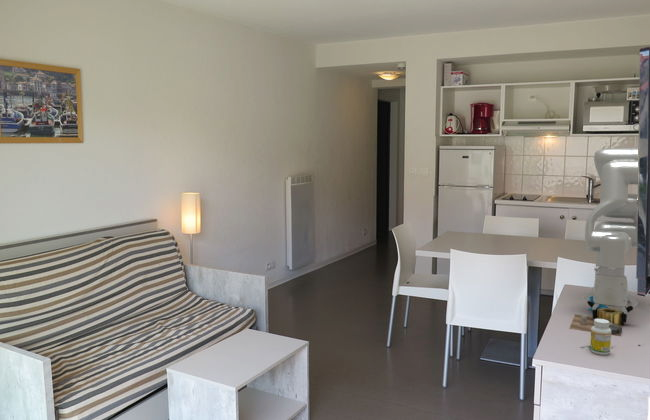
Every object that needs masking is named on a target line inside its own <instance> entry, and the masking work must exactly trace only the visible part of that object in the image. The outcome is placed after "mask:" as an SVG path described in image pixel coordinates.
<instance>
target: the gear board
mask: <svg viewBox="0 0 650 420" xmlns="http://www.w3.org/2000/svg"><path fill="white" fill-rule="evenodd" d="M594 319H595V318H593V316H589V315H588V314H586V313H581V314H574V315H573V318H572V321H571V323H570V326H569V328H568V329H569V330H575V331H582V332H590V333H591V328H592V327H593V326H595V325H594ZM609 328H610V329H611V336H616V337H622V333H623V325H617V324H612V323H610V322H609Z"/></svg>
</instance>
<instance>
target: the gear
mask: <svg viewBox="0 0 650 420" xmlns="http://www.w3.org/2000/svg"><path fill="white" fill-rule="evenodd" d="M589 299H590V300H591V301H592V302H593V303H594V301H593V296H592V297H590V298H589ZM598 308H610V307H609V306H607V305H600V304H599V306H598V307H597V309H598ZM588 310H589V311H593V309H592V308H591V307H590V308H589V309H588Z"/></svg>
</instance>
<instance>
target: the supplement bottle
mask: <svg viewBox="0 0 650 420" xmlns="http://www.w3.org/2000/svg"><path fill="white" fill-rule="evenodd" d="M594 325H595V326H593V327H592V328H591V332H590V346H589V347H590V348H589V349H590V352H592V353H593V354H596V355H601V356H605V355H606V356H607V355H610V354H611V349H612V347H611V345H612V335H611V329H610V328H609V321H608V320H605V319H594Z"/></svg>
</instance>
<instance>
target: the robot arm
mask: <svg viewBox="0 0 650 420" xmlns="http://www.w3.org/2000/svg"><path fill="white" fill-rule="evenodd" d="M638 148H639V147H610V148H608V147H607V148H600V149H598V150H596V151H595V152H594V155H593V160H594V161H593V162H594V166H595V170H596V172H597V175H598V178H599V180H600V194H599V195H600V196H599V203H598V205H596V206H595V207H594V208H593V209H592V210H591V212H590V213H589V214H588V217H587V218H586V221H585V229H584V230H585V231H584V232H585V233H584V245H585V248H586V249H587V250H588V251H590V252H595V266H594V285H593V286H592V287H591V288H592V291H590V292H589V293H586V294H585V295H583V299H584V301H585V302H586V303H587V305H588V306H589V307H590V308H592V309H593V310H592V317H593V318H595V319H597V311H598V310H597V307H598V306H599V304H600V305H606V306H607V307H609V306H611V307H617V308H620V309H621V312H622V320H621V325H622V326H624V324H625V323H627V315H628V314H629V313H630V312H631V311H633V310H634V309H635V308H636V307H637V306H638V305H639V301H638V300H636V299H635V298H633V296H631V295H630V294H629V287H628V279H627V278H628V277H627V276H626V275H625V269H626V253H627V252H628V251H629V250H630V249H631V248H638V247H637V200H638V194H639V193H629V185H639V184H638ZM601 216H603V217H605V218H609V219H610V218H611V219H627V220H628V219H631V220H632V221H633V222H631V221H630V222H629V221H613V220H612V221H611V220H610V221H609V220H606V221H605V220H604V221H600V222H598V223H597V224H596V225H595V223H596V221H597V219H599V218H600V217H601ZM592 296H593V301H594V303H593V302H592V301H591V300H590V299H589V298H590V297H592ZM628 301H629V302H630V303H631V304H630V305H628Z"/></svg>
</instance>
